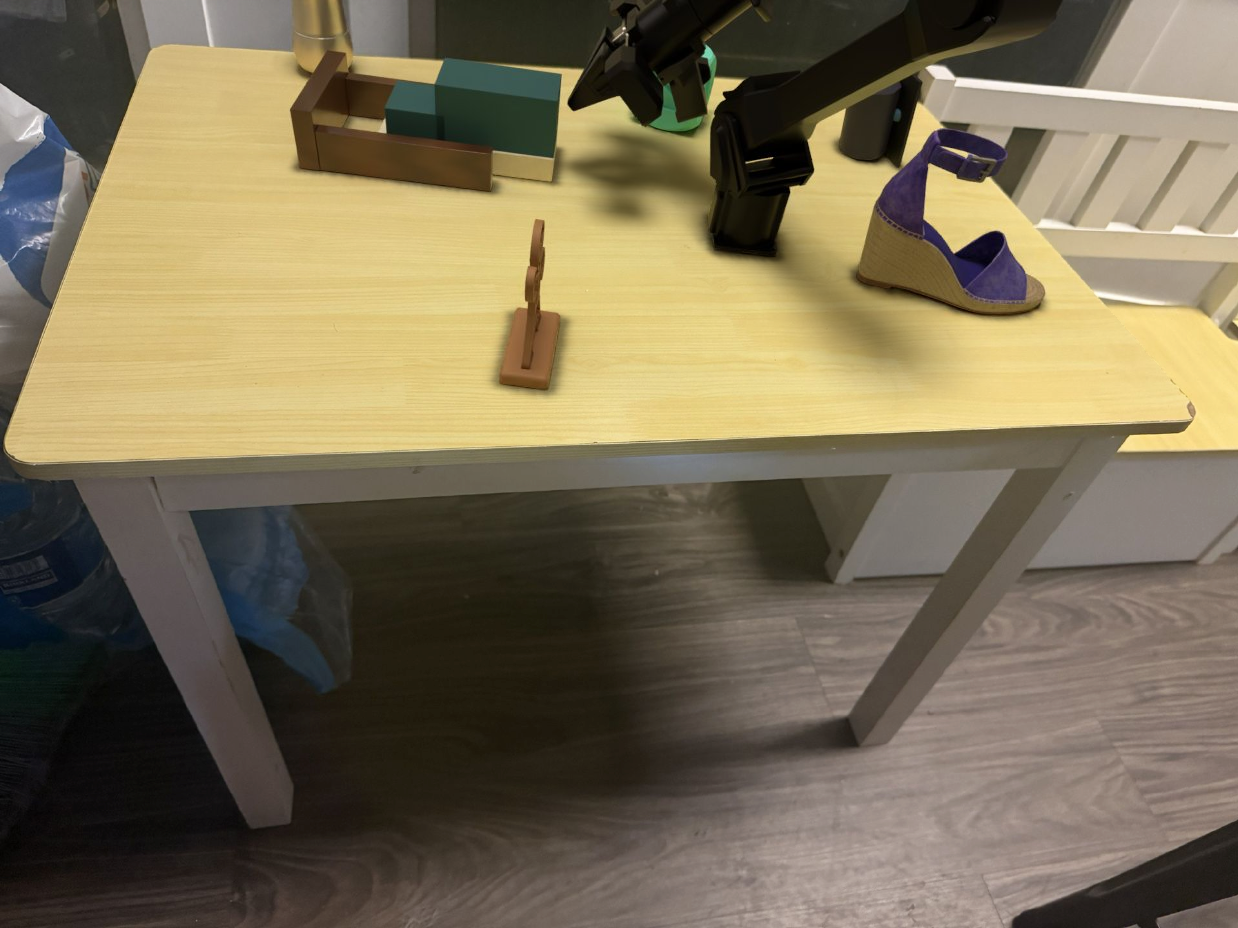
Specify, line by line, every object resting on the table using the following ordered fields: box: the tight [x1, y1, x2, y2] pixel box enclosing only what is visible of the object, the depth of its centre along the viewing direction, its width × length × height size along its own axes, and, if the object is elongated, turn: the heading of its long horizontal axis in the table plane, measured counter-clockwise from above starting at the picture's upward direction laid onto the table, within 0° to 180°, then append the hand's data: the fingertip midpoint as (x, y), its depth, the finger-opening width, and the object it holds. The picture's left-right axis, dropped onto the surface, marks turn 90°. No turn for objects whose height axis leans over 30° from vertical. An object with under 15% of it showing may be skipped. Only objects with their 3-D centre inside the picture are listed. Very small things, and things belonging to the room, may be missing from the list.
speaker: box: [838, 73, 924, 168], centre depth 97 cm, size 8×6×10 cm
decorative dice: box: [648, 44, 717, 132], centre depth 97 cm, size 8×8×8 cm
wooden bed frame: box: [289, 50, 494, 192], centre depth 85 cm, size 19×14×6 cm
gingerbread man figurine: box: [499, 218, 561, 390], centre depth 63 cm, size 9×4×12 cm, turn 176°
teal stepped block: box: [378, 57, 563, 183], centre depth 85 cm, size 18×7×8 cm, turn 89°
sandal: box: [856, 127, 1046, 315], centre depth 77 cm, size 8×20×15 cm, turn 81°
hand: (570, 106), depth 84 cm, fingers closed
